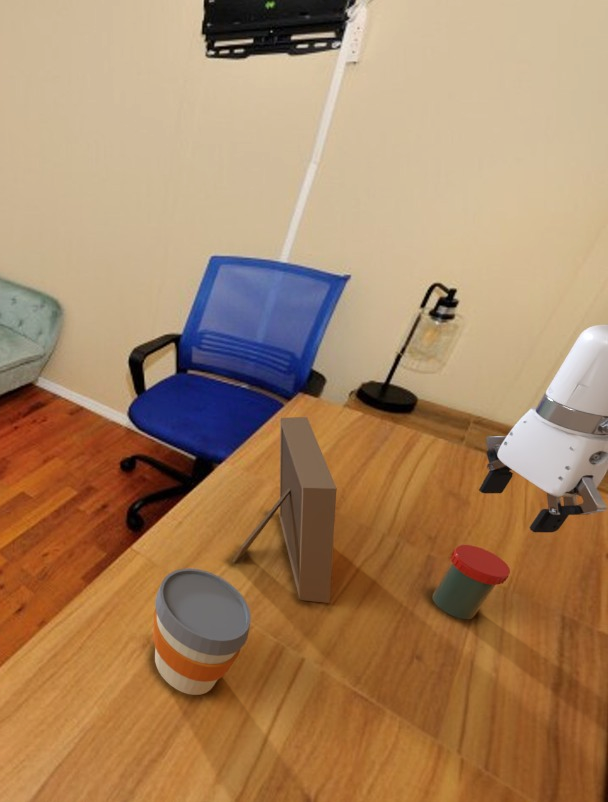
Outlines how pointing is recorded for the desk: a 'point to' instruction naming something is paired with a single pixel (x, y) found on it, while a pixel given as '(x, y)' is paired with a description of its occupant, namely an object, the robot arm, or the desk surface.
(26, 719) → the desk surface
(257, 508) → the desk surface
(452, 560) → the jam lid
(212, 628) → the reusable coffee cup
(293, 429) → the photo frame
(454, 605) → the jam jar
